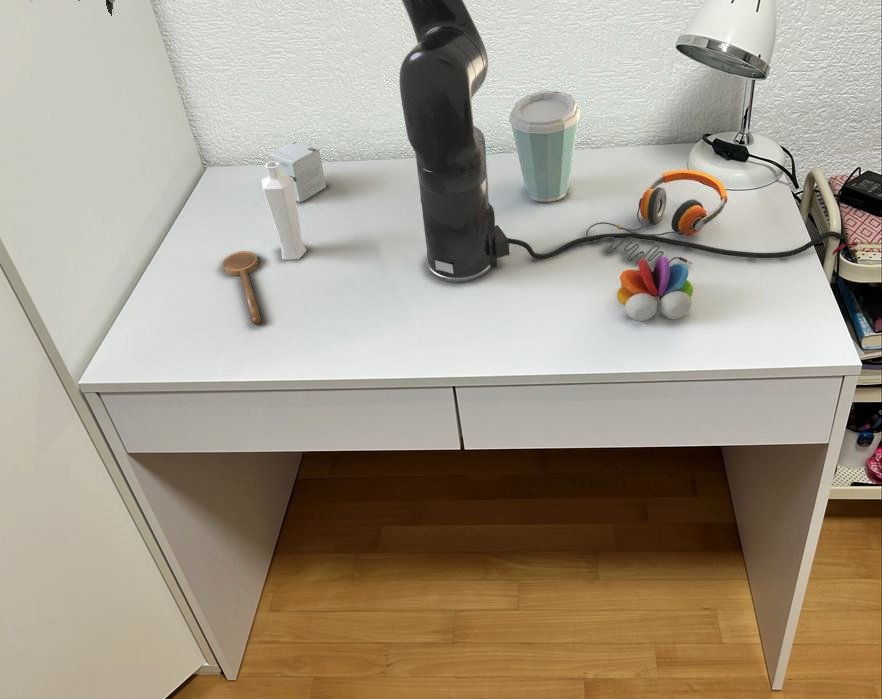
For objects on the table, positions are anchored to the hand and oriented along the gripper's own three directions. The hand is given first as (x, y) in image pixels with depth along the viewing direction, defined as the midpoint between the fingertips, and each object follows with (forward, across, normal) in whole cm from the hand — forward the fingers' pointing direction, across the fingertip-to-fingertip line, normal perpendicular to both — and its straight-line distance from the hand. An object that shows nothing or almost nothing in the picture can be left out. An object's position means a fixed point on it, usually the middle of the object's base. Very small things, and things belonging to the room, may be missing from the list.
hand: (84, 35), depth 124 cm
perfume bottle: (+19, 0, -38) cm, 42 cm away
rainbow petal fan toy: (+2, +4, -88) cm, 88 cm away
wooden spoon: (+20, -11, -36) cm, 43 cm away
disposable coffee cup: (+9, +27, -66) cm, 72 cm away
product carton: (+22, +16, -29) cm, 40 cm away
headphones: (+2, +22, -85) cm, 88 cm away
